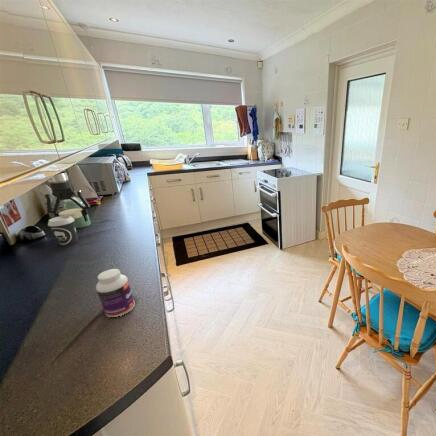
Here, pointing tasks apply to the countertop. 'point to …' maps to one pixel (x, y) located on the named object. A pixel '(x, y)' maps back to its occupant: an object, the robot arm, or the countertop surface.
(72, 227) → the coffee cup
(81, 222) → the thermos
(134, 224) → the countertop surface
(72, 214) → the thermos lid
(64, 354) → the countertop surface
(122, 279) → the pill bottle
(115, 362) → the countertop surface
